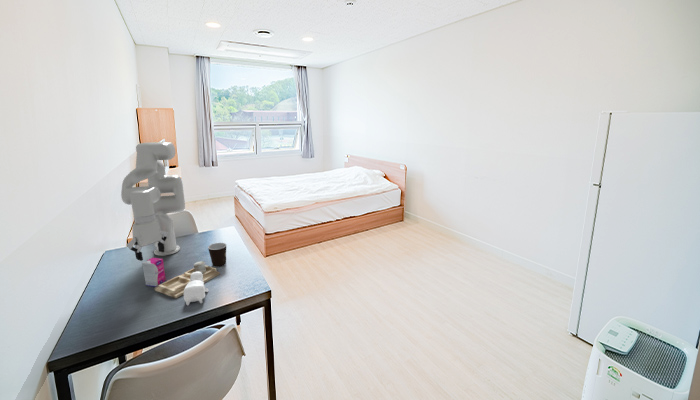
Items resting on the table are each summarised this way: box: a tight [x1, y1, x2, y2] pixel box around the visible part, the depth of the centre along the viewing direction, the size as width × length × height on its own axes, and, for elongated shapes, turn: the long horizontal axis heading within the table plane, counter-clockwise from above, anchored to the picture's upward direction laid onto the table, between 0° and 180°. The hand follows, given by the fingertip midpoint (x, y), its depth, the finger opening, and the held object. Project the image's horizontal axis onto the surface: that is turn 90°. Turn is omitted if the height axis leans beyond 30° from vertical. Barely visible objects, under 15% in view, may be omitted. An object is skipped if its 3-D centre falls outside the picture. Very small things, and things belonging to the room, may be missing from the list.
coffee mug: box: [207, 242, 227, 268], centre depth 163 cm, size 12×9×10 cm
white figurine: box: [183, 272, 209, 306], centre depth 134 cm, size 9×8×15 cm
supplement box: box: [142, 257, 167, 288], centre depth 142 cm, size 6×6×12 cm
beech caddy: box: [154, 260, 221, 299], centre depth 145 cm, size 14×23×6 cm, turn 154°
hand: (151, 255), depth 140 cm, fingers open, 9 cm apart
